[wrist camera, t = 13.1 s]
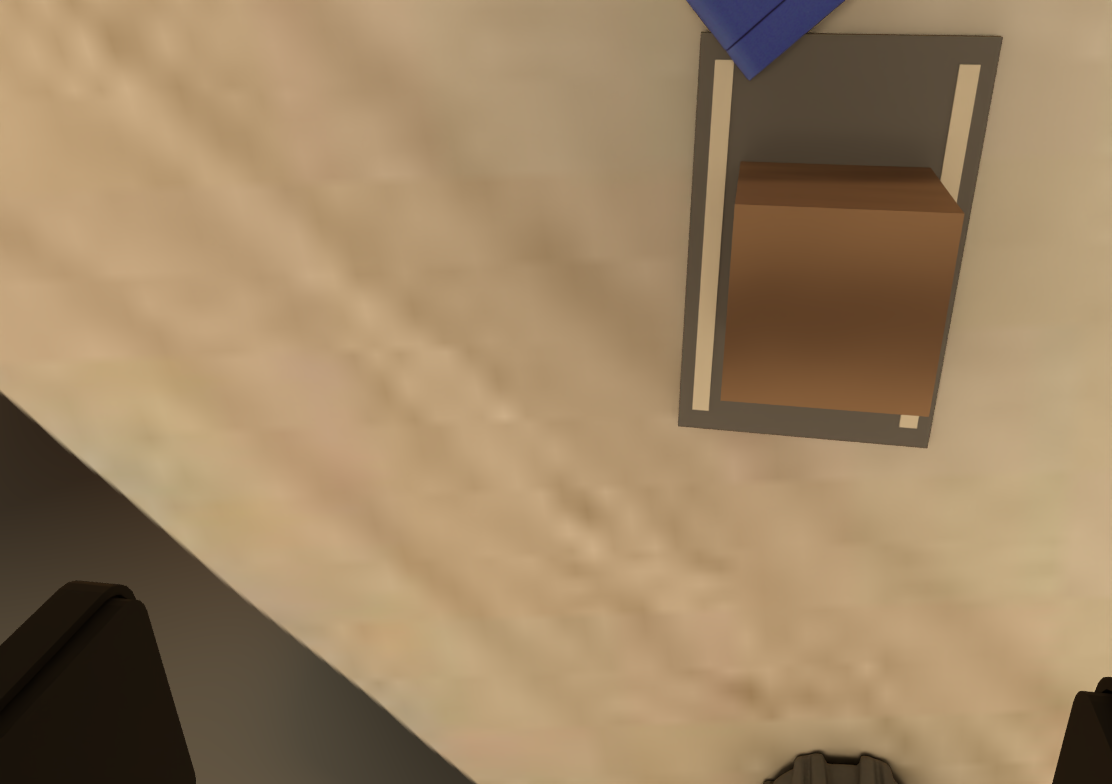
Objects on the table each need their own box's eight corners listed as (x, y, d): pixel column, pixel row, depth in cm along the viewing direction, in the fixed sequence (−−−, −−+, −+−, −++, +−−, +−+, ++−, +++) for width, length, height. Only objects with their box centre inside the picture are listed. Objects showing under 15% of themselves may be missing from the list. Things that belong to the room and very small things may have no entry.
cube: (740, 161, 32) (734, 204, 26) (930, 167, 31) (964, 213, 25) (728, 330, 34) (720, 400, 29) (903, 341, 33) (928, 417, 28)
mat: (702, 31, 31) (700, 32, 30) (1000, 36, 29) (1003, 37, 29) (678, 421, 37) (677, 427, 36) (925, 443, 35) (927, 449, 35)
